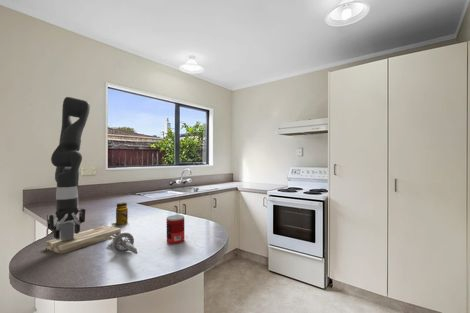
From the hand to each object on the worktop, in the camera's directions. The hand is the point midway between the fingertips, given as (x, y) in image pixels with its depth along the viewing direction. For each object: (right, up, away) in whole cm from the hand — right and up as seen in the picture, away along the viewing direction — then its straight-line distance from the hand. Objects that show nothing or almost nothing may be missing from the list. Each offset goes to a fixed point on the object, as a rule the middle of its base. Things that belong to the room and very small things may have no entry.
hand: (67, 235), depth 99 cm
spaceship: (+27, -5, -6) cm, 28 cm away
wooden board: (+4, -5, +7) cm, 9 cm away
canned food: (+45, -5, +6) cm, 45 cm away
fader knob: (0, -3, 0) cm, 3 cm away
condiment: (+6, -5, +34) cm, 35 cm away
